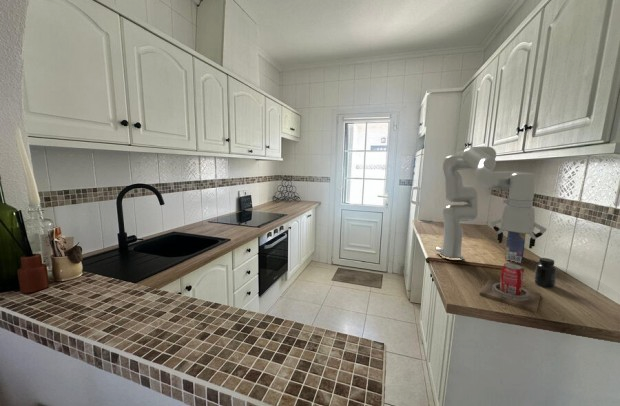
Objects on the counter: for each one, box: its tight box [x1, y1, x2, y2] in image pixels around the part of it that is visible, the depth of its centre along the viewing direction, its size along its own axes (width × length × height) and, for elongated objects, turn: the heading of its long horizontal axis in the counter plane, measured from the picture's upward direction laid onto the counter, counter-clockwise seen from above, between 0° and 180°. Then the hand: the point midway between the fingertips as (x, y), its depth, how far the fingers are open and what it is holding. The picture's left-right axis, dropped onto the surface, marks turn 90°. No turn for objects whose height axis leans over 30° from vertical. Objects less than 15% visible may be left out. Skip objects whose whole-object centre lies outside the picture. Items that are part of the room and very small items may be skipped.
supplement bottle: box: [534, 257, 557, 289], centre depth 112 cm, size 7×7×12 cm
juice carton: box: [504, 231, 527, 264], centre depth 142 cm, size 12×8×24 cm, turn 140°
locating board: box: [479, 279, 542, 313], centre depth 105 cm, size 18×16×3 cm
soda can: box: [499, 262, 524, 295], centre depth 104 cm, size 7×7×12 cm
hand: (515, 244), depth 102 cm, fingers open, 9 cm apart
